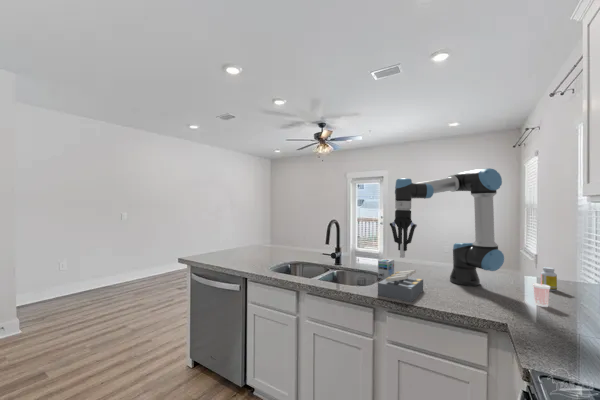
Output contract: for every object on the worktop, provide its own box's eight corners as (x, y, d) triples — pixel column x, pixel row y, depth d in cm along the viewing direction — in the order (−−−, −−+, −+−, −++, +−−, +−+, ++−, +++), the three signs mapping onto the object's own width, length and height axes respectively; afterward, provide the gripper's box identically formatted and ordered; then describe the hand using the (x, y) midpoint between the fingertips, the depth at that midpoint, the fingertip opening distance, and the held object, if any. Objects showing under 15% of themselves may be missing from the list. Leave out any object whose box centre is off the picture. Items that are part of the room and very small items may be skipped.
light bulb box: (388, 280, 168) (388, 262, 168) (377, 278, 172) (377, 260, 172) (394, 276, 177) (394, 259, 177) (384, 274, 181) (384, 258, 181)
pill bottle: (560, 291, 148) (560, 269, 149) (547, 291, 149) (547, 269, 149) (549, 287, 155) (549, 266, 155) (537, 287, 155) (537, 266, 155)
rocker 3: (416, 272, 148) (415, 269, 149) (414, 273, 145) (413, 270, 146) (397, 274, 154) (397, 271, 154) (395, 275, 151) (394, 272, 152)
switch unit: (423, 290, 148) (423, 276, 148) (411, 301, 131) (411, 286, 131) (392, 285, 158) (393, 272, 158) (377, 294, 140) (377, 280, 140)
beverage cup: (538, 307, 125) (538, 275, 125) (529, 302, 131) (529, 272, 131) (554, 308, 124) (553, 276, 125) (544, 303, 130) (544, 272, 131)
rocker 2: (412, 274, 143) (411, 271, 143) (410, 276, 140) (409, 273, 140) (393, 277, 149) (392, 274, 149) (391, 278, 146) (390, 275, 146)
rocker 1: (408, 277, 137) (407, 274, 137) (405, 279, 134) (404, 275, 135) (388, 280, 143) (387, 277, 143) (386, 281, 140) (385, 278, 140)
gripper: (387, 209, 141) (386, 256, 140) (414, 210, 133) (413, 260, 132) (393, 209, 147) (392, 254, 146) (419, 210, 138) (418, 258, 138)
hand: (402, 257), depth 139 cm, fingers closed
